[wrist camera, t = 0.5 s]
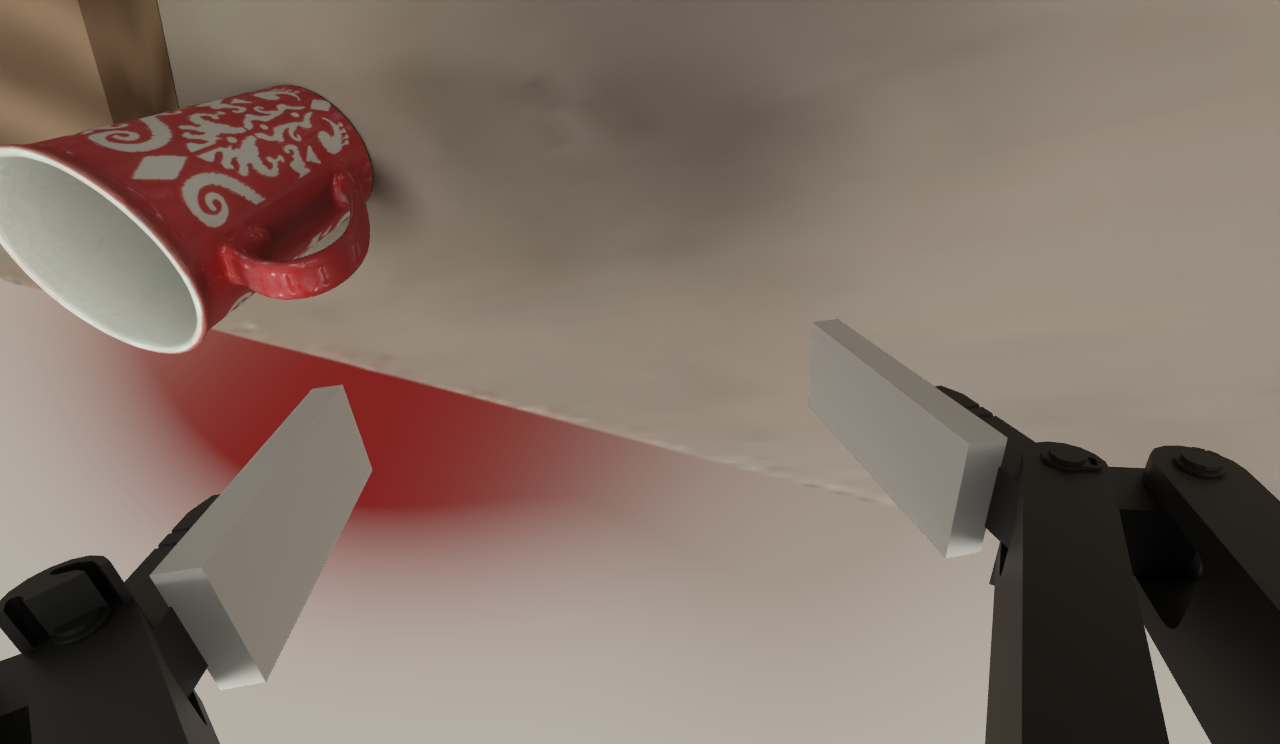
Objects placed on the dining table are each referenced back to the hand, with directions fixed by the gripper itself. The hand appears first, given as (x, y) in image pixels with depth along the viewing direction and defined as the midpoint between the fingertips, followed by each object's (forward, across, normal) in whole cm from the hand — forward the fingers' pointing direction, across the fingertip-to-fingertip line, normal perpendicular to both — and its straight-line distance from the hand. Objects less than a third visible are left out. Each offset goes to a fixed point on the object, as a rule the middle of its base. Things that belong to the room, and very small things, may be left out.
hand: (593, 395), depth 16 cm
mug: (+22, -12, +6) cm, 26 cm away
